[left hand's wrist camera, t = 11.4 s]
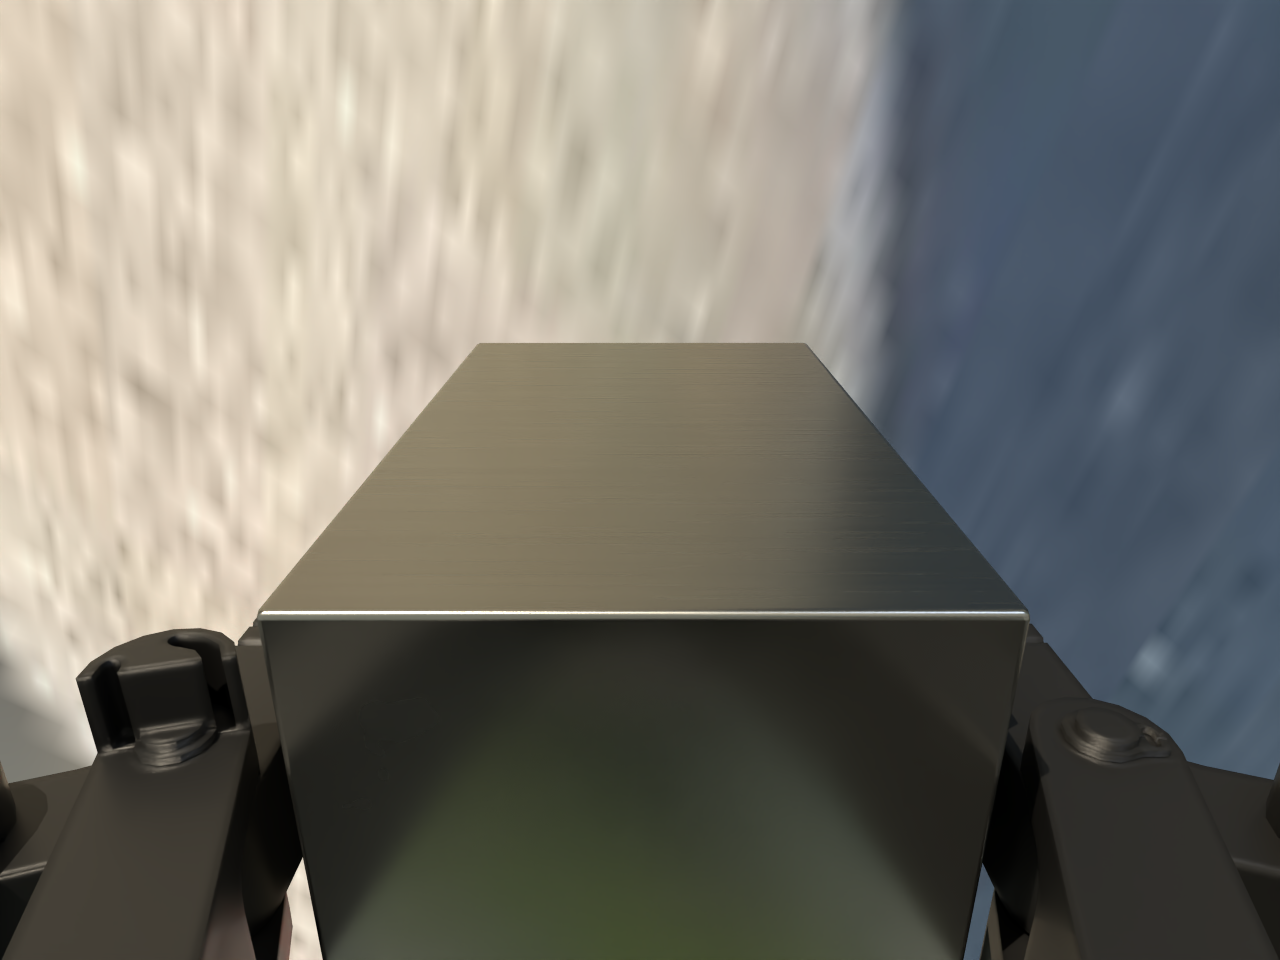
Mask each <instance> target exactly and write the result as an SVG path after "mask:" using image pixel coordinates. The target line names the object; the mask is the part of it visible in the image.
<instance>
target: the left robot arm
mask: <svg viewBox="0 0 1280 960" xmlns="http://www.w3.org/2000/svg"><path fill="white" fill-rule="evenodd" d="M76 681H77V685H78V688H79V691H80V695H81V698H82V701H83V705H84V708H85V712H86V715H87V718H88V722H89V725H90V728H91V732H92V735H93V738H94V742H95V745H96V749H97V752H98V753H97V756H96V758H95V760H94V762H93V764H92V766H88V767H84V768H80V769H77V770H72V771H67V772H62V773H57V774H52V775H48V776H43V777H38V778H33V779H28V780H23V781H18V782H13V783H9V784H8V782H7V779H6V776H5V773H4V770H3V768H2V765H1V762H0V960H289V954H290V945H291V936H292V927H293V926H292V919H291V913H290V907H289V902H288V897H287V889H288V887H289V885H290V883H291V881H292V879H293V877H294V875H295V872H296V870H297V868H298V866H299V864H300V862H301V860H302V858H303V855H302V849H301V844H300V839H299V834H298V829H297V824H296V819H295V813H294V808H293V803H292V798H291V793H290V788H289V783H288V777H287V772H286V767H285V762H284V757H283V752H282V746H281V741H280V736H279V731H278V726H277V721H276V716H275V710H274V705H273V700H272V695H271V690H270V685H269V680H268V674H267V669H266V664H265V659H264V654H263V649H262V643H261V638H260V633H259V628H258V623H257V618H256V619H255V621H254V622H253V627H249V628H248V629H247V631H246V632H245V633H244V634H243V635H242V637H241V638H240V639H239V640H238V646H235V644H234V642H233V641H232V640H231V639H229V638H228V637H227V636H225V635H224V634H223V633H221V632H216V631H211V630H206V629H201V628H196V629H173V630H168V631H164V632H159V633H155V634H150V635H145V636H142V637H139V638H137V639H134V640H132V641H129V642H127V643H124V644H122V645H119V646H116V647H114V648H113V649H111V650H109V651H108V652H106V653H104V654H103V655H101V656H100V657H98V658H96V659H95V660H93V661H91V662H90V663H89V664H88V665H87V667H86V668H85V669H84V670H83V671H82V672H81V673H80V674H79V675H78V676H77V677H76ZM982 863H983V865H984V867H985V869H986V871H987V873H988V875H989V877H990V879H991V882H992V884H993V886H994V892H993V897H992V902H991V907H990V912H989V916H988V921H987V926H986V931H985V935H984V940H983V945H982V950H981V955H980V959H979V960H1280V764H1279V767H1278V770H1277V773H1276V775H1275V778H1274V780H1271V779H1266V778H1261V777H1256V776H1251V775H1246V774H1241V773H1237V772H1232V771H1227V770H1222V769H1217V768H1212V767H1207V766H1203V765H1199V764H1195V763H1192V762H1188V761H1186V758H1185V756H1184V754H1183V752H1182V751H1181V749H1180V748H1179V747H1178V745H1177V744H1176V743H1175V742H1174V740H1173V739H1172V738H1171V736H1170V735H1169V734H1168V733H1167V732H1165V731H1164V730H1163V729H1161V728H1160V727H1158V726H1157V725H1156V724H1154V723H1153V722H1151V721H1150V720H1149V719H1147V718H1146V717H1143V716H1141V715H1139V714H1137V713H1135V712H1132V711H1130V710H1128V709H1126V708H1123V707H1121V706H1119V705H1115V704H1111V703H1107V702H1103V701H1099V700H1095V699H1092V697H1091V696H1090V695H1089V694H1088V693H1087V691H1086V690H1085V689H1084V688H1083V686H1082V685H1081V684H1080V683H1079V681H1078V680H1077V679H1076V678H1075V677H1074V675H1073V674H1072V673H1071V672H1070V670H1069V669H1068V668H1067V667H1066V665H1065V664H1064V663H1063V662H1062V661H1061V659H1060V658H1059V657H1058V656H1057V654H1056V653H1055V652H1054V651H1053V649H1052V648H1051V647H1050V646H1049V644H1048V643H1044V642H1043V637H1042V636H1041V635H1040V633H1039V632H1038V631H1037V630H1036V628H1035V627H1034V626H1033V625H1032V624H1029V627H1028V632H1027V637H1026V643H1025V648H1024V653H1023V658H1022V663H1021V668H1020V673H1019V678H1018V683H1017V688H1016V693H1015V699H1014V704H1013V709H1012V714H1011V719H1010V724H1009V729H1008V734H1007V739H1006V744H1005V750H1004V755H1003V760H1002V765H1001V770H1000V775H999V780H998V785H997V790H996V795H995V800H994V806H993V811H992V816H991V821H990V826H989V831H988V836H987V841H986V846H985V851H984V857H983V862H982Z"/></svg>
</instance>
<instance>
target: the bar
mask: <svg viewBox="0 0 1280 960" xmlns="http://www.w3.org/2000/svg"><path fill="white" fill-rule="evenodd" d="M1029 622H1030V615H1029V612H1028V610H1027V608H1026V607H1025V606H1024V605H1023V604H1022V602H1021V601H1020V600H1019V599H1018V597H1017V596H1016V595H1015V594H1014V593H1013V591H1012V590H1011V589H1010V588H1009V587H1008V585H1007V584H1006V583H1005V582H1004V581H1003V579H1002V578H1001V577H1000V576H999V575H998V573H997V572H996V571H995V570H994V569H993V567H992V566H991V565H990V564H989V563H988V561H987V560H986V559H985V558H984V557H983V555H982V554H981V553H980V552H979V551H978V549H977V548H976V547H975V546H974V545H973V543H972V542H971V541H970V540H969V539H968V537H967V536H966V535H965V534H964V533H963V531H962V530H961V529H960V528H959V527H958V525H957V524H956V523H955V522H954V521H953V519H952V518H951V517H950V516H949V515H948V513H947V512H946V511H945V510H944V509H943V507H942V506H941V505H940V504H939V503H938V501H937V500H936V499H935V498H934V497H933V495H932V494H931V493H930V492H929V491H928V489H927V488H926V487H925V486H924V485H923V483H922V482H921V481H920V480H919V479H918V477H917V476H916V475H915V474H914V473H913V471H912V470H911V469H910V468H909V467H908V465H907V464H906V463H905V462H904V461H903V459H902V458H901V457H900V456H899V455H898V453H897V452H896V451H895V450H894V449H893V447H892V446H891V445H890V444H889V443H888V441H887V440H886V439H885V438H884V437H883V435H882V434H881V433H880V432H879V431H878V429H877V428H876V427H875V426H874V425H873V423H872V422H871V421H870V420H869V419H868V417H867V416H866V415H865V414H864V413H863V411H862V410H861V409H860V408H859V407H858V405H857V404H856V403H855V402H854V401H853V399H852V398H851V397H850V396H849V395H848V393H847V392H846V391H845V390H844V389H843V387H842V386H841V385H840V384H839V383H838V381H837V380H836V379H835V378H834V377H833V375H832V374H831V373H830V372H829V371H828V369H827V368H826V367H825V366H824V365H823V363H822V362H821V361H820V360H819V359H818V357H817V356H816V355H815V354H814V353H813V351H812V350H811V349H810V348H809V347H808V345H807V344H805V343H480V344H477V345H476V347H475V348H474V349H473V350H472V352H471V353H470V354H469V355H468V356H467V358H466V359H465V360H464V361H463V362H462V364H461V365H460V366H459V367H458V369H457V370H456V371H455V372H454V373H453V375H452V376H451V377H450V378H449V380H448V381H447V382H446V383H445V384H444V386H443V387H442V388H441V389H440V390H439V392H438V393H437V394H436V395H435V397H434V398H433V399H432V400H431V401H430V403H429V404H428V405H427V406H426V407H425V409H424V410H423V411H422V412H421V414H420V415H419V416H418V417H417V418H416V420H415V421H414V422H413V423H412V424H411V426H410V427H409V428H408V429H407V431H406V432H405V433H404V434H403V435H402V437H401V438H400V439H399V440H398V442H397V443H396V444H395V445H394V446H393V448H392V449H391V450H390V451H389V452H388V454H387V455H386V456H385V457H384V459H383V460H382V461H381V462H380V463H379V465H378V466H377V467H376V468H375V469H374V471H373V472H372V473H371V474H370V476H369V477H368V478H367V479H366V480H365V482H364V483H363V484H362V485H361V486H360V488H359V489H358V490H357V491H356V493H355V494H354V495H353V496H352V497H351V499H350V500H349V501H348V502H347V504H346V505H345V506H344V507H343V508H342V510H341V511H340V512H339V513H338V514H337V516H336V517H335V518H334V519H333V521H332V522H331V523H330V524H329V525H328V527H327V528H326V529H325V530H324V531H323V533H322V534H321V535H320V536H319V538H318V539H317V540H316V541H315V542H314V544H313V545H312V546H311V547H310V548H309V550H308V551H307V552H306V553H305V555H304V556H303V557H302V558H301V559H300V561H299V562H298V563H297V564H296V566H295V567H294V568H293V569H292V570H291V572H290V573H289V574H288V575H287V576H286V578H285V579H284V580H283V581H282V583H281V584H280V585H279V586H278V587H277V589H276V590H275V591H274V592H273V593H272V595H271V596H270V597H269V598H268V600H267V601H266V602H265V603H264V604H263V606H262V607H261V608H260V609H259V611H258V615H257V623H258V628H259V633H260V638H261V643H262V649H263V654H264V659H265V664H266V669H267V674H268V680H269V685H270V690H271V695H272V700H273V705H274V710H275V716H276V721H277V726H278V731H279V736H280V741H281V746H282V752H283V757H284V762H285V767H286V772H287V777H288V783H289V788H290V793H291V798H292V803H293V808H294V813H295V819H296V824H297V829H298V834H299V839H300V844H301V849H302V855H303V860H304V865H305V870H306V875H307V880H308V885H309V891H310V896H311V901H312V906H313V911H314V916H315V922H316V927H317V932H318V937H319V942H320V947H321V952H322V958H323V960H963V958H964V953H965V948H966V943H967V938H968V933H969V928H970V923H971V918H972V913H973V908H974V902H975V897H976V892H977V887H978V882H979V877H980V872H981V867H982V862H983V857H984V851H985V846H986V841H987V836H988V831H989V826H990V821H991V816H992V811H993V806H994V800H995V795H996V790H997V785H998V780H999V775H1000V770H1001V765H1002V760H1003V755H1004V750H1005V744H1006V739H1007V734H1008V729H1009V724H1010V719H1011V714H1012V709H1013V704H1014V699H1015V693H1016V688H1017V683H1018V678H1019V673H1020V668H1021V663H1022V658H1023V653H1024V648H1025V643H1026V637H1027V632H1028V627H1029Z"/></svg>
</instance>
